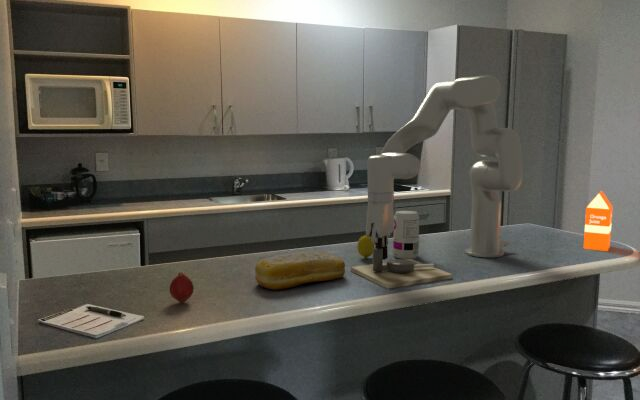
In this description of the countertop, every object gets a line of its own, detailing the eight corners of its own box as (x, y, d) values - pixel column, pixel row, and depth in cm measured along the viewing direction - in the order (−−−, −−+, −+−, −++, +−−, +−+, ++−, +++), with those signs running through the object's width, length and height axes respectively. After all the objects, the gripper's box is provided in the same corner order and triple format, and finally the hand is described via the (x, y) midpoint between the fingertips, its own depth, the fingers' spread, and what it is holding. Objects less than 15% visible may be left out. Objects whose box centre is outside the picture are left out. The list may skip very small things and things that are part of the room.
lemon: (373, 261, 179) (373, 236, 178) (356, 260, 180) (356, 236, 179) (375, 256, 184) (375, 233, 183) (358, 256, 186) (358, 232, 184)
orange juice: (610, 246, 199) (614, 190, 196) (607, 251, 191) (611, 193, 188) (586, 243, 203) (589, 189, 200) (582, 248, 196) (586, 192, 193)
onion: (172, 299, 142) (171, 268, 140) (195, 298, 142) (194, 268, 141) (168, 307, 136) (166, 275, 135) (192, 306, 136) (191, 274, 135)
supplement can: (390, 258, 182) (391, 213, 180) (396, 252, 190) (397, 209, 188) (415, 260, 179) (416, 214, 177) (420, 254, 187) (421, 211, 185)
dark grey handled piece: (428, 263, 169) (428, 242, 168) (439, 270, 161) (439, 248, 161) (368, 267, 165) (369, 246, 164) (377, 274, 157) (377, 252, 157)
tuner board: (410, 262, 177) (410, 258, 177) (452, 278, 159) (452, 273, 159) (350, 270, 167) (350, 266, 167) (387, 288, 150) (387, 284, 149)
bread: (247, 284, 155) (246, 256, 154) (324, 269, 170) (324, 244, 169) (271, 296, 144) (270, 266, 143) (351, 279, 159) (351, 252, 158)
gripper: (380, 193, 170) (381, 251, 173) (357, 200, 158) (358, 263, 161) (403, 194, 166) (403, 254, 169) (381, 202, 154) (382, 266, 157)
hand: (381, 258), depth 165 cm, fingers closed
